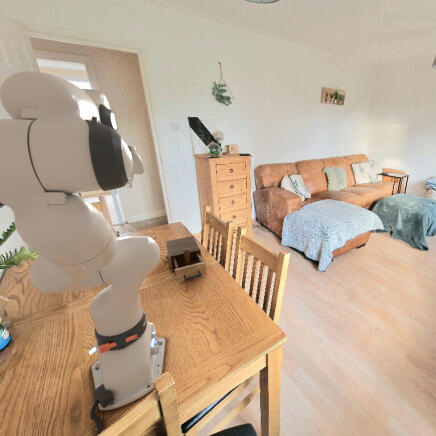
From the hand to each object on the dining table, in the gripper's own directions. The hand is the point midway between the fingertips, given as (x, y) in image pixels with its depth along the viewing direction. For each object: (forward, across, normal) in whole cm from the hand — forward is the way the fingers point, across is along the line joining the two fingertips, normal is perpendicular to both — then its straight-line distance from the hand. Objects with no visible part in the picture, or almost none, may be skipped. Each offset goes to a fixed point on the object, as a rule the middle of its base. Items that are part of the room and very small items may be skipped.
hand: (113, 188), depth 82 cm
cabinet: (+44, +20, +16) cm, 52 cm away
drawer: (+43, +20, +3) cm, 48 cm away
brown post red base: (+42, +20, +3) cm, 47 cm away
